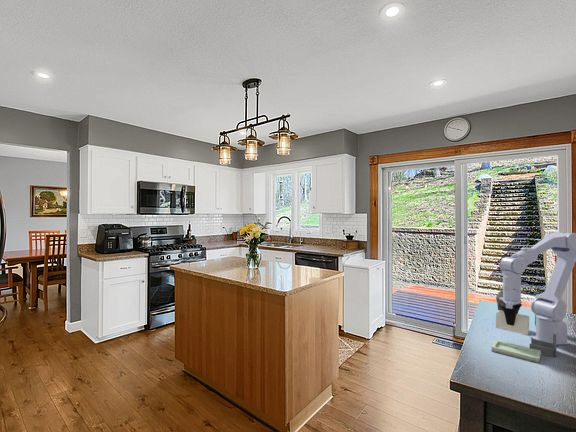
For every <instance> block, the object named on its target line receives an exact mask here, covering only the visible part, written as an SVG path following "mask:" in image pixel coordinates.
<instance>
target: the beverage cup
mask: <svg viewBox="0 0 576 432" xmlns="http://www.w3.org/2000/svg"><path fill="white" fill-rule="evenodd" d="M500 297H502V298H503V290H500V291H499V292H498V293H497V294H496V297H495V299H496V303H497V311H498V310H500V311H503V310H502V308H501V306H502V305H505V304H504V302H503V301H502V300H499V298H500Z"/></svg>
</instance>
